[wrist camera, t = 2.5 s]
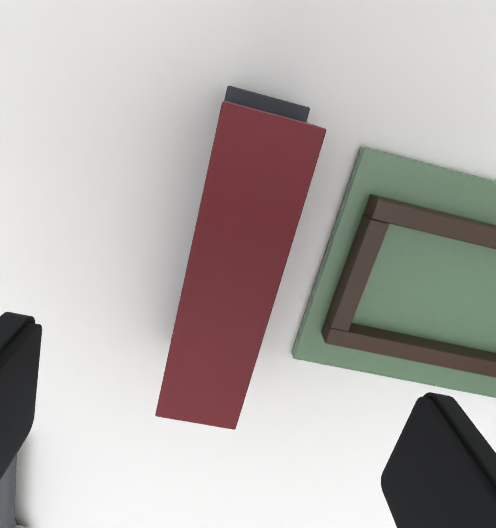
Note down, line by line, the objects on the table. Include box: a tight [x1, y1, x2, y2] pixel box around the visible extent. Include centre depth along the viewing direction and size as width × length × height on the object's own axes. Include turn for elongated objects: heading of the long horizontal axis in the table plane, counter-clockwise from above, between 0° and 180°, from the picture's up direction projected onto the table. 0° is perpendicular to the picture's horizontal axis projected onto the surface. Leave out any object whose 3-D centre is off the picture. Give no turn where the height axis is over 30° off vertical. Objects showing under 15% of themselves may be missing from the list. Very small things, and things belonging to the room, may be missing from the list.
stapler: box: [155, 86, 326, 429], centre depth 19 cm, size 14×4×6 cm, turn 166°
